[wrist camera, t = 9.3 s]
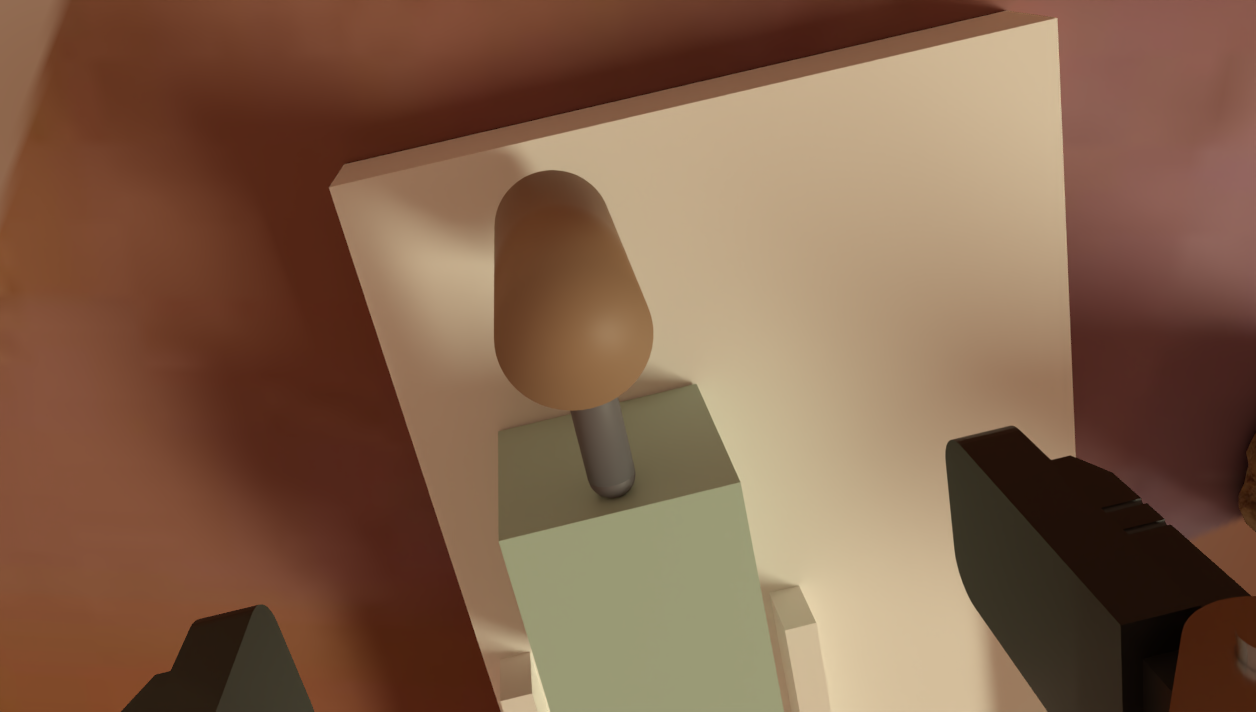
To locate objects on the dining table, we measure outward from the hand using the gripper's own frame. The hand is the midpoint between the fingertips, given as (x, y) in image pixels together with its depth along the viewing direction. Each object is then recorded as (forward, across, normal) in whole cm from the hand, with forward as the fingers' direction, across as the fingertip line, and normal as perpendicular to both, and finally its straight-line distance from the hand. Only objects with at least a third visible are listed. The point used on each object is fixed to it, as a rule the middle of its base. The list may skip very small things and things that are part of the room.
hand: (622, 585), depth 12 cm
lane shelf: (+21, -4, +14) cm, 25 cm away
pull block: (+18, 0, +6) cm, 19 cm away
